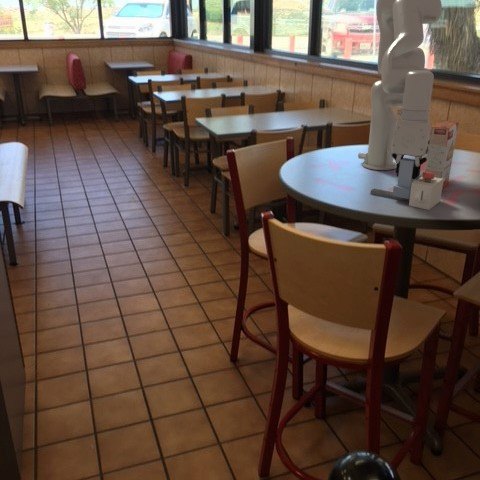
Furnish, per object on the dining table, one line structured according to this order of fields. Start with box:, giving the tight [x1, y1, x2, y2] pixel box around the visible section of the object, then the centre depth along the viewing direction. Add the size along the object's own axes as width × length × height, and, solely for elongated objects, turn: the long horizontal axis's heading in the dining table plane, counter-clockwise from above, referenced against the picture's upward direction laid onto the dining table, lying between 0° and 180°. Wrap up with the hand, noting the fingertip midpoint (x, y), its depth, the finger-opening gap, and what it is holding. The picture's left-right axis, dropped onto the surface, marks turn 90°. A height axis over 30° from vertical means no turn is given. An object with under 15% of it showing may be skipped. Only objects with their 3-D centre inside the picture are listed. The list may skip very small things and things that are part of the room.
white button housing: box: [408, 176, 444, 210], centre depth 153 cm, size 6×10×7 cm, turn 142°
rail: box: [369, 188, 410, 202], centre depth 160 cm, size 14×2×1 cm, turn 52°
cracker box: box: [424, 119, 460, 190], centre depth 166 cm, size 14×6×21 cm, turn 148°
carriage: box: [392, 156, 417, 199], centre depth 155 cm, size 5×7×11 cm
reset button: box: [421, 171, 435, 183], centre depth 151 cm, size 3×3×3 cm
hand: (407, 176), depth 155 cm, fingers closed on carriage, 4 cm apart
